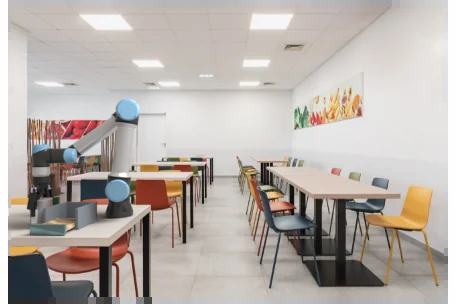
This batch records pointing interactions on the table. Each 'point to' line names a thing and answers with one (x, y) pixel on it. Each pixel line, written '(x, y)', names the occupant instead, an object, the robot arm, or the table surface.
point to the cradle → (72, 213)
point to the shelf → (53, 227)
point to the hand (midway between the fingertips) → (41, 220)
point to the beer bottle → (54, 189)
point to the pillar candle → (41, 204)
